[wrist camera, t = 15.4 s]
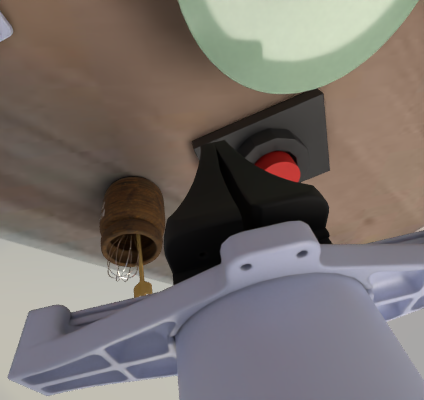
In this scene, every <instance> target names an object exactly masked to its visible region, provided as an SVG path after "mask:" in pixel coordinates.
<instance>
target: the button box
mask: <svg viewBox="0 0 424 400" xmlns="http://www.w3.org/2000/svg"><path fill="white" fill-rule="evenodd" d="M222 140H225V141H226V142H227V143H228V144H229V145H230V146H232V147H233V148H234V149H235V150H236V151H237V152H238V153H239V154H241V155H242V156H243V157H244V158H246V159H247V160H248V161H250V162H251V163H253V164H254V165H255V163H256V162H257V160H258V159H259V158H261V157H262V156H263V155H265V154H267V153H270V152H273V151H282V152H285V153H287V154H289V155H290V156H291V158H292V159H293V160H294V162H295V163H296V165H297V166H298V168H299V170H300V179H299V181H298V183H301V182H302V181H305V180H307V179H310V178H312V177H315V176H317V175H320V174H322V173H325V172H327V171H330V166H329V154H328V143H327V131H326V119H325V107H324V95H323V93H322V92H321V91H320V90H318V89H317V88H316V89H313V90H310V91H307V92H305V93H303V94H300V95H298V96H296V97H294V98H291V99H289V100H287V101H284V102H282V103H280V104H277V105H275V106H273V107H270V108H268V109H266V110H263V111H261V112H259V113H257V114H254V115H252V116H250V117H247V118H245V119H243V120H240V121H238V122H236V123H233V124H231V125H229V126H226V127H224V128H222V129H220V130H217V131H215V132H213V133H210V134H208V135H206V136H203V137H201V138H199V139H196V140H194V141H192V144H193V149H194V151H195V153H196V155H197V157H198V159H199V161H200V154H201V149H200V147H201V145H204V144H208V143H213V142H217V141H222Z"/></svg>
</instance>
